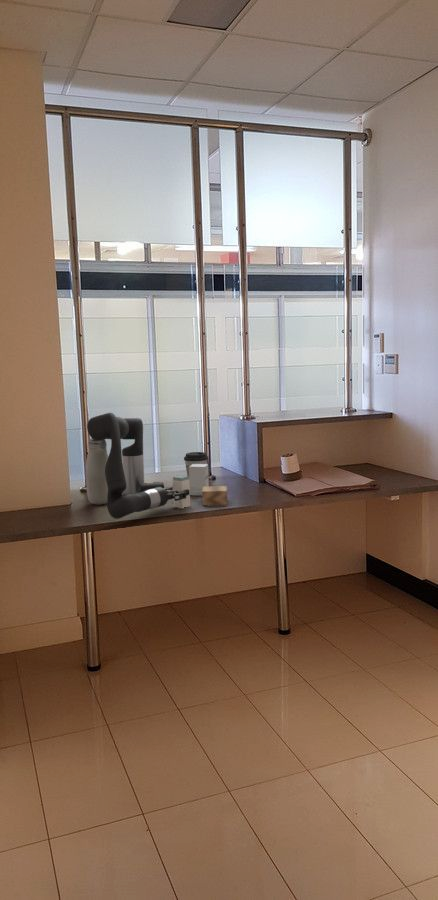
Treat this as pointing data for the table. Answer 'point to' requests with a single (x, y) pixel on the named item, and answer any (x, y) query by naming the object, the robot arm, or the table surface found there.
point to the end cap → (150, 486)
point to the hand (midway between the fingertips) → (180, 490)
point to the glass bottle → (96, 472)
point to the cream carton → (180, 485)
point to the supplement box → (198, 478)
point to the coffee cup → (195, 459)
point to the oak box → (214, 495)
